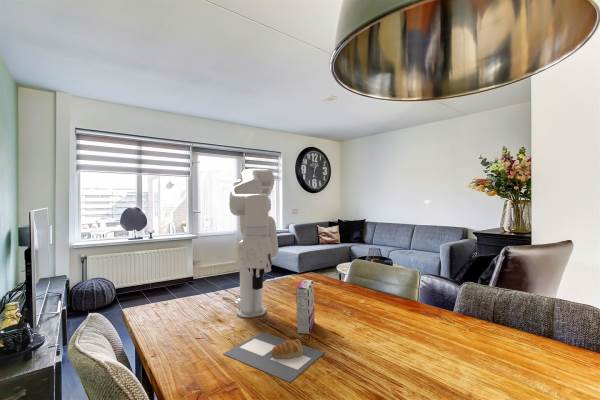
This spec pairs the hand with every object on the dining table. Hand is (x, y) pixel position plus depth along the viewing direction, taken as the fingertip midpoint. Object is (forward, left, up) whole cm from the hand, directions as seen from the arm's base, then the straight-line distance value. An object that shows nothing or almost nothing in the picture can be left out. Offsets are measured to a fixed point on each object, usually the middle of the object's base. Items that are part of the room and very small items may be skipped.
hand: (257, 288), depth 94 cm
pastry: (+11, +2, -19) cm, 22 cm away
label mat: (+7, 0, -19) cm, 20 cm away
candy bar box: (+5, +21, -19) cm, 29 cm away
